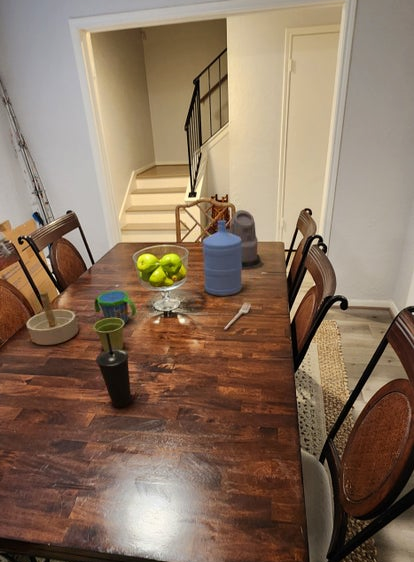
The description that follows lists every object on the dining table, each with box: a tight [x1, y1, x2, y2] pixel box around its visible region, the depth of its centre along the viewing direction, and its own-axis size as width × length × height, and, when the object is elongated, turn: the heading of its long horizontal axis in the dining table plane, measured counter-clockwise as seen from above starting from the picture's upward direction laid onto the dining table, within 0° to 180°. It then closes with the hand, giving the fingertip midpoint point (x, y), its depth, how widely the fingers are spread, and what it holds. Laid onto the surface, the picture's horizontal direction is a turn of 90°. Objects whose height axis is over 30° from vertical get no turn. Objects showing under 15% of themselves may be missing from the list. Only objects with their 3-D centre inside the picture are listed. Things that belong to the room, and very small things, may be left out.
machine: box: [226, 209, 263, 270], centre depth 183 cm, size 30×16×24 cm, turn 19°
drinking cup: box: [95, 333, 132, 408], centre depth 90 cm, size 8×8×20 cm
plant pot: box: [92, 318, 125, 352], centre depth 117 cm, size 9×9×9 cm
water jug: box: [202, 219, 243, 297], centre depth 150 cm, size 16×16×28 cm
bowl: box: [25, 308, 80, 346], centre depth 127 cm, size 16×16×6 cm
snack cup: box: [94, 290, 137, 324], centre depth 132 cm, size 16×10×10 cm
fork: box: [223, 302, 252, 330], centre depth 133 cm, size 3×20×2 cm, turn 152°
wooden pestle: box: [39, 290, 60, 329], centre depth 125 cm, size 4×4×15 cm
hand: (1, 260), depth 116 cm, fingers open, 8 cm apart
